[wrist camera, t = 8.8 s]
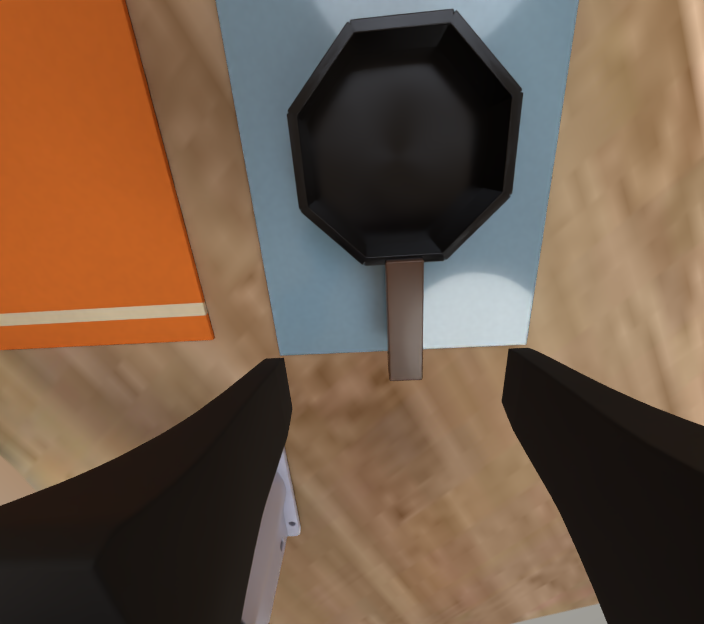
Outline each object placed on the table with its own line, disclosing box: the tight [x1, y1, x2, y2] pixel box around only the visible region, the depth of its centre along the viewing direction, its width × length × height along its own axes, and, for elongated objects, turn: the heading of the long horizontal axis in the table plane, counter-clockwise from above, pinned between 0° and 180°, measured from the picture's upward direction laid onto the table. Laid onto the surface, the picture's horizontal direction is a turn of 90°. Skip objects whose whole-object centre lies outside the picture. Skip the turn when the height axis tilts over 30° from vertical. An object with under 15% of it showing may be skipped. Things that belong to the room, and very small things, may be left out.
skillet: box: [287, 8, 523, 381], centre depth 15 cm, size 14×8×3 cm, turn 4°
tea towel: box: [0, 0, 214, 350], centre depth 17 cm, size 20×14×1 cm
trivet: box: [215, 0, 579, 356], centre depth 16 cm, size 18×14×1 cm
